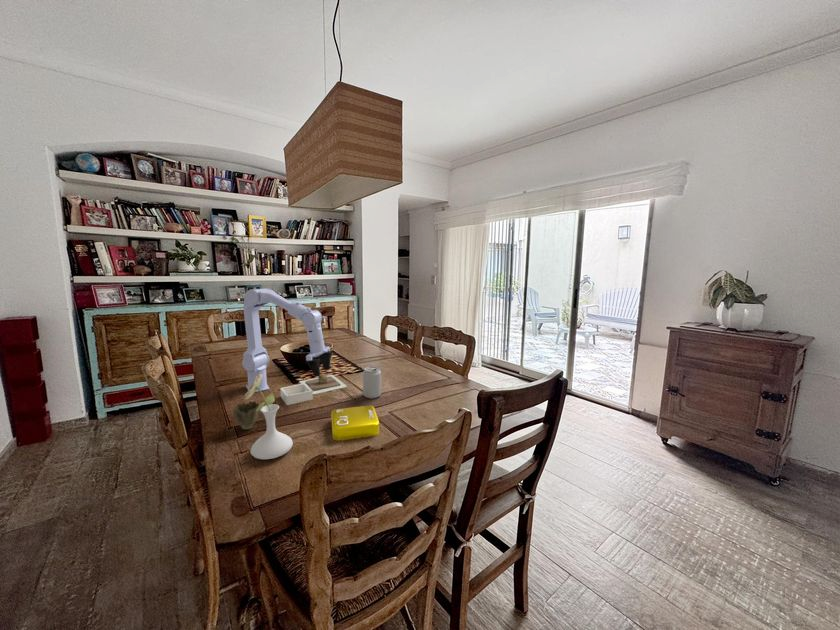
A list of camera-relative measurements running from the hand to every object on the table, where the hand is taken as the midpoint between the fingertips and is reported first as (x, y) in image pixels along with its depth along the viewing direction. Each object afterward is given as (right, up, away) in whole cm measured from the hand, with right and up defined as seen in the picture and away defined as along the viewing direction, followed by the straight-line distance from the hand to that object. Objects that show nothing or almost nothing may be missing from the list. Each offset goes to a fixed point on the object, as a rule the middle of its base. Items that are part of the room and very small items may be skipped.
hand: (322, 372), depth 133 cm
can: (+20, -11, +4) cm, 23 cm away
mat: (-4, -8, +15) cm, 17 cm away
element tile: (+18, -15, -22) cm, 32 cm away
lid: (-4, -8, +15) cm, 17 cm away
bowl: (-10, -11, 0) cm, 15 cm away
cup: (-18, -15, -24) cm, 33 cm away
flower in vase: (-4, -17, -38) cm, 42 cm away
